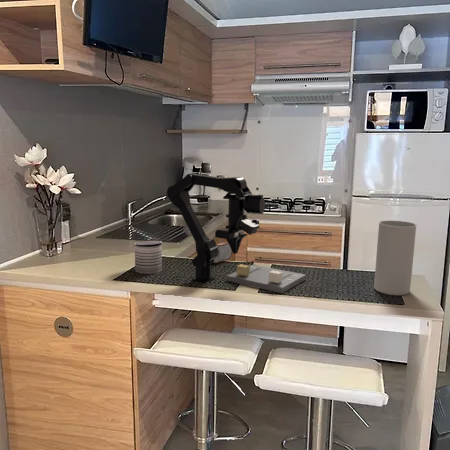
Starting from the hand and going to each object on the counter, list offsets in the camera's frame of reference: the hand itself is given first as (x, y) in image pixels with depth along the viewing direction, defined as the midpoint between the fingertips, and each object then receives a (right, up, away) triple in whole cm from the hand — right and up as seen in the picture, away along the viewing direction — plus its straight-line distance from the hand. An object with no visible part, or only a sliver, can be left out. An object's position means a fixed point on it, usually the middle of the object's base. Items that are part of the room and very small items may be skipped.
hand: (235, 253), depth 171 cm
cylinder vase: (+57, -14, -1) cm, 59 cm away
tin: (-6, -6, +34) cm, 35 cm away
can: (-35, -8, +20) cm, 41 cm away
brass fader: (+3, -9, +7) cm, 11 cm away
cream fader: (+15, -10, -1) cm, 18 cm away
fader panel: (+12, -11, +8) cm, 18 cm away
